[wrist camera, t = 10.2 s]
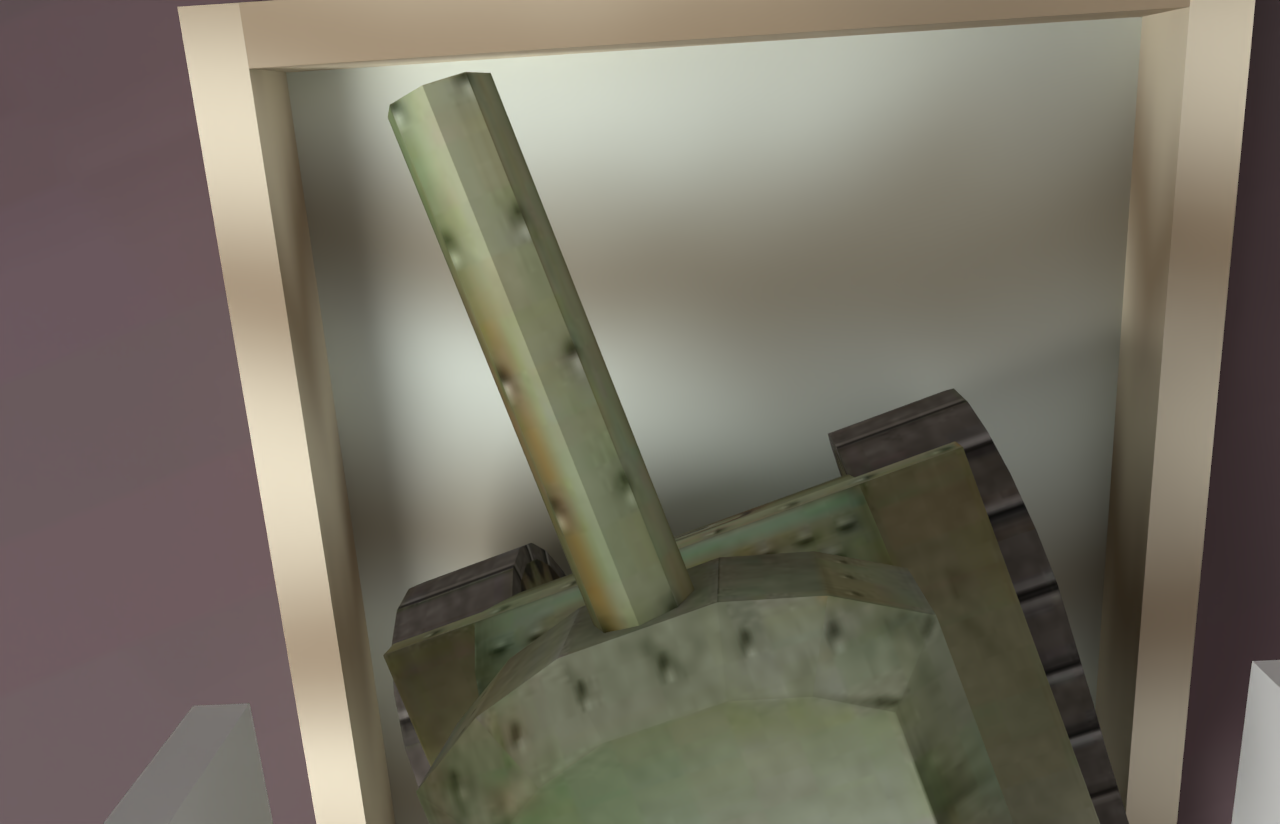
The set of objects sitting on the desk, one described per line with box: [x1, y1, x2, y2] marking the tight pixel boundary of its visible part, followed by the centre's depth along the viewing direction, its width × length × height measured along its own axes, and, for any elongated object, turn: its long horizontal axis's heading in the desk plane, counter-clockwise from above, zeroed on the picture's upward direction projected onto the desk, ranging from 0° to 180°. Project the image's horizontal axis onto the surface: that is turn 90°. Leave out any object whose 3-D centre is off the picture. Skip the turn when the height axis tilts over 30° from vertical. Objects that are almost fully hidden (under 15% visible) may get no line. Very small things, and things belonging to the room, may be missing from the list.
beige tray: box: [178, 0, 1255, 824], centre depth 20 cm, size 22×17×2 cm
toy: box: [383, 72, 1129, 824], centre depth 16 cm, size 10×18×10 cm, turn 22°
